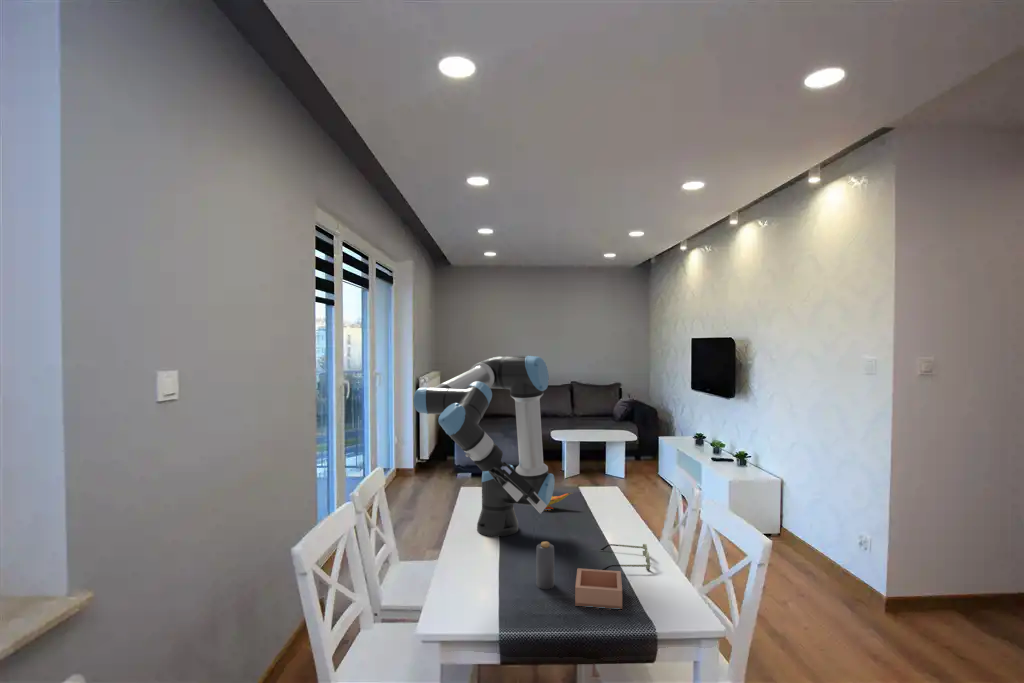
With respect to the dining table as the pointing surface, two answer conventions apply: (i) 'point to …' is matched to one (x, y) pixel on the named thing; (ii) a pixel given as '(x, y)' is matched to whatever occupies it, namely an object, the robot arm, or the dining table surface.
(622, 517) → the dining table surface
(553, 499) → the magic lamp
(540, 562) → the battery cell
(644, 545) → the sunglasses
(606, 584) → the terracotta rectangular open box
